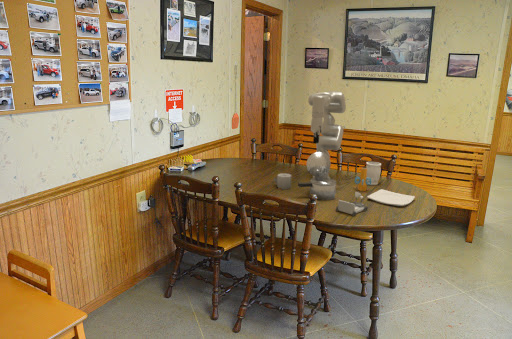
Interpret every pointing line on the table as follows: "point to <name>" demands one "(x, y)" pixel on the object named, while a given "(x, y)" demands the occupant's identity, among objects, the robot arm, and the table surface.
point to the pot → (321, 187)
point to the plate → (391, 198)
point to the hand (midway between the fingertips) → (315, 142)
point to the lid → (318, 164)
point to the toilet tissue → (283, 181)
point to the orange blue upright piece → (363, 180)
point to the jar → (373, 172)
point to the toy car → (351, 206)
